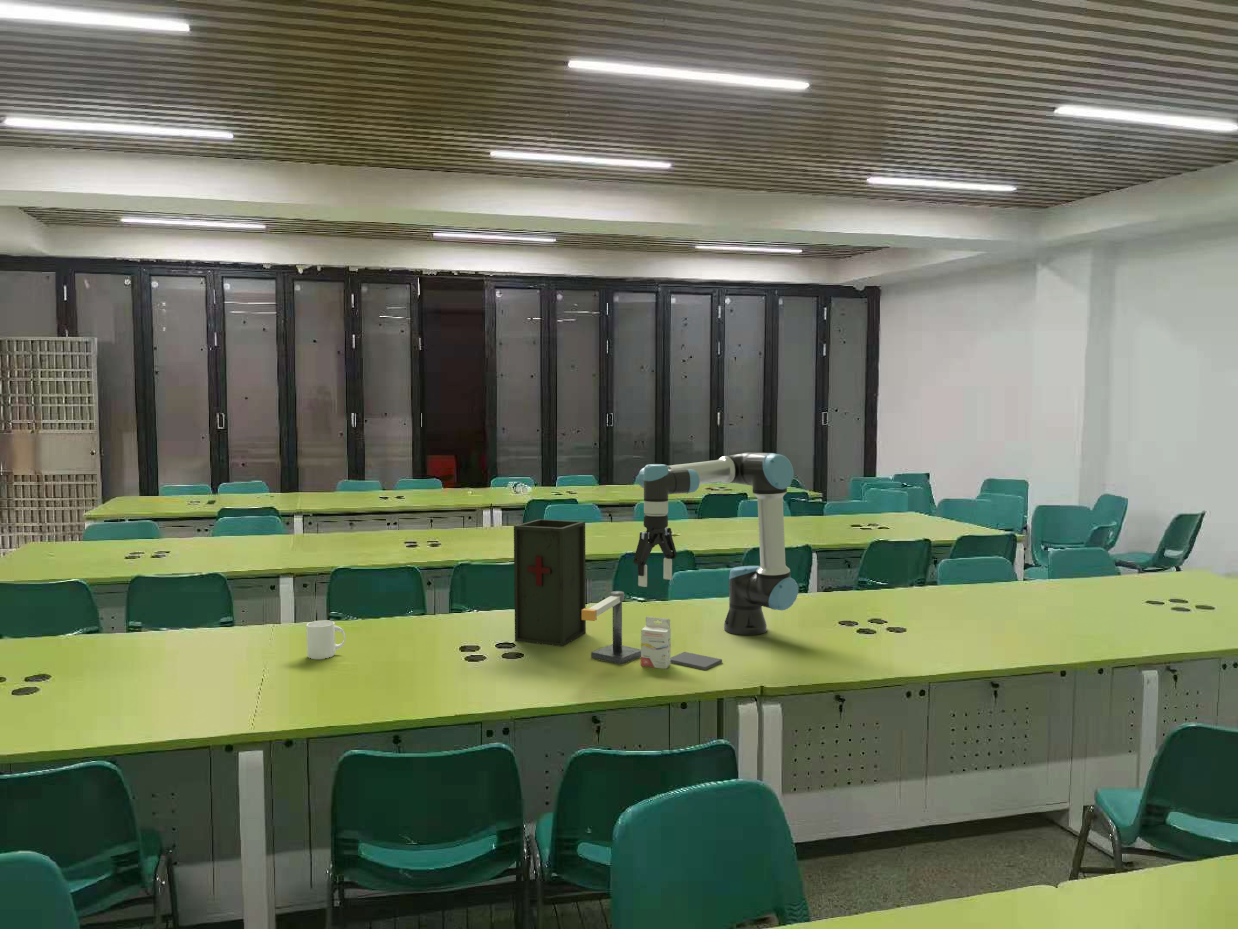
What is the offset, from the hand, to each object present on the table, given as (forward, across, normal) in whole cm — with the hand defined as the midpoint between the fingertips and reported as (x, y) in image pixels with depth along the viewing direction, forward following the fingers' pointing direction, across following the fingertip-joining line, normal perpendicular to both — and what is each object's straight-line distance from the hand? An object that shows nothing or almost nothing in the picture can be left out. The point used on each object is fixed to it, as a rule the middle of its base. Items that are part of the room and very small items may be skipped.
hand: (655, 582), depth 266 cm
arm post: (+26, 0, -15) cm, 30 cm away
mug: (+27, +55, -92) cm, 110 cm away
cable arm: (+8, +11, -12) cm, 18 cm away
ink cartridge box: (+26, 0, 0) cm, 26 cm away
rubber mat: (+26, -10, +8) cm, 29 cm away
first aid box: (+26, -5, -48) cm, 55 cm away
